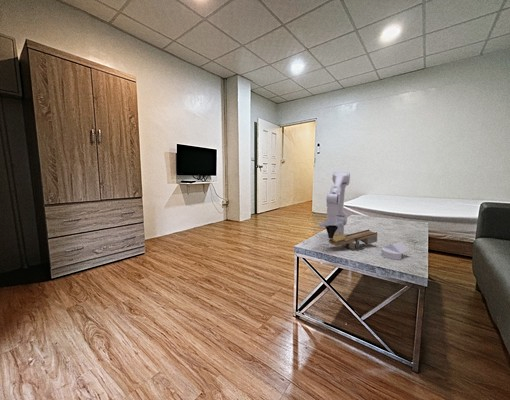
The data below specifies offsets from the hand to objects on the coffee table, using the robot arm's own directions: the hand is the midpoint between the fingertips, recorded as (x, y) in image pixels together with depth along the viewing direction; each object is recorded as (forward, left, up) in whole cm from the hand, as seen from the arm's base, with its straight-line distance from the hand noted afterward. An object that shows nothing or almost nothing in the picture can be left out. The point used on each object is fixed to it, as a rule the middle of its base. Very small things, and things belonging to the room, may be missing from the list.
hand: (330, 238), depth 120 cm
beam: (0, +17, -6) cm, 18 cm away
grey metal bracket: (0, +15, -7) cm, 17 cm away
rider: (0, +6, -2) cm, 6 cm away
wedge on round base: (+16, +28, -7) cm, 33 cm away
